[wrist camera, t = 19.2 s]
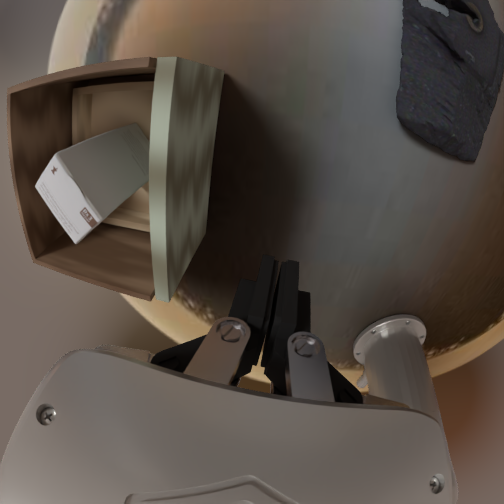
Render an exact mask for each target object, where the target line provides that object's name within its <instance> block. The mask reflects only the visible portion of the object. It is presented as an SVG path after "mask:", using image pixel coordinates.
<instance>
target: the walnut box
mask: <svg viewBox="0 0 504 504" xmlns="http://www.w3.org/2000/svg"><path fill="white" fill-rule="evenodd" d="M156 65H157V58H151V57H146V58H134V59H125V60H116V61H109V62H103V63H97V64H91V65H86V66H81V67H76V68H72V69H67V70H63V71H59V72H56V73H52V74H48V75H45V76H42V77H38V78H35V79H32V80H29V81H26V82H23V83H20V84H17V85H15V86H12V87H10V88H8V91H7V125H8V126H7V128H8V143H9V155H10V163H11V171H12V178H13V184H14V189H15V195H16V200H17V205H18V210H19V214H20V218H21V222H22V226H23V230H24V234H25V237H26V241H27V244H28V247H29V250H30V254H31V257H32V260H33V263H36V264H39V265H41V266H44V267H47V268H49V269H52V270H55V271H57V272H60V273H63V274H65V275H69V276H71V277H74V278H77V279H80V280H83V281H85V282H88V283H91V284H95V285H98V286H101V287H104V288H107V289H110V290H113V291H117V292H120V293H123V294H127V295H130V296H133V297H137V298H140V299H144V300H147V301H151V300H152V299H153V297H154V295H155V287H154V277H153V266H152V253H151V237H150V232H147V231H142V230H137V229H132V228H127V227H122V226H117V225H112V224H108V223H103V222H101V223H100V224H99V225H97V226H96V227H95V228H94V229H93V230H92V231H91V232H89V233H88V234H87V235H86V236H85V237H84V238H83V239H82V240H81V241H80V242H79V243H78V244H75V243H74V242H73V240H72V239H71V238H70V236H69V235H68V234H67V232H66V231H65V230H64V228H63V227H62V226H61V224H60V223H59V221H58V220H57V219H56V217H55V216H54V214H53V213H52V211H51V210H50V209H49V207H48V206H47V204H46V203H45V201H44V200H43V198H42V197H41V195H40V194H39V192H38V191H37V189H36V187H35V185H36V183H37V181H38V180H39V178H40V176H41V175H42V173H43V172H44V170H45V168H46V167H47V165H48V164H49V162H50V161H51V159H52V158H53V156H54V155H55V154H56V153H57V152H59V151H62V150H64V149H67V148H69V147H71V146H73V144H72V99H73V89H74V88H80V87H87V86H95V85H104V84H114V83H127V82H148V81H155V72H156Z"/></svg>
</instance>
